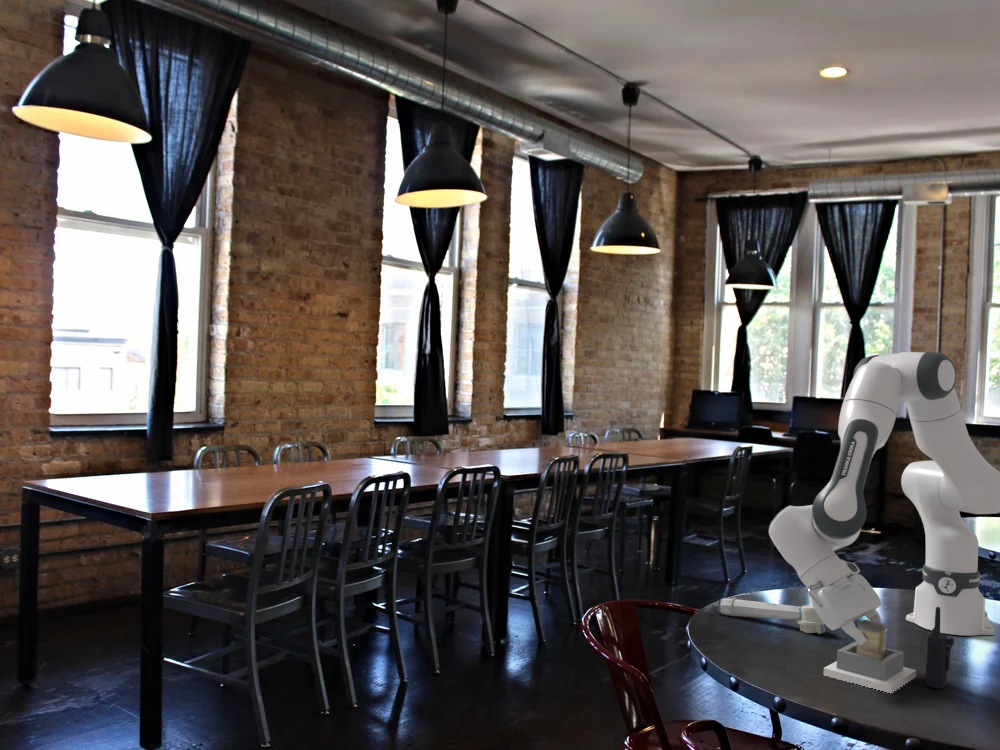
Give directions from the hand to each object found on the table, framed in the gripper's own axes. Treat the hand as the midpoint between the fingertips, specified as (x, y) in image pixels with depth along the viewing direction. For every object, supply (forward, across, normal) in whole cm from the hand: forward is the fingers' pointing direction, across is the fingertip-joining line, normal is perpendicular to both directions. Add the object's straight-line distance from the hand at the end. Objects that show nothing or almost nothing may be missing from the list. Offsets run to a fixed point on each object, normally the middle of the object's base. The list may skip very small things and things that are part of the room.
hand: (874, 637), depth 174 cm
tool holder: (+5, 0, +6) cm, 8 cm away
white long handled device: (-16, +18, +28) cm, 37 cm away
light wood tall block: (+4, 0, +5) cm, 6 cm away
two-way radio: (+13, +5, -2) cm, 14 cm away
